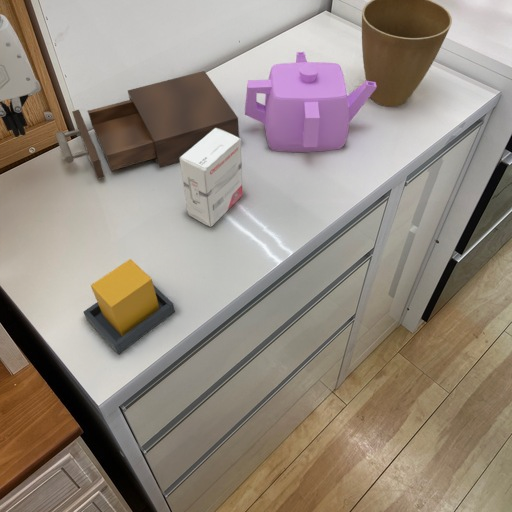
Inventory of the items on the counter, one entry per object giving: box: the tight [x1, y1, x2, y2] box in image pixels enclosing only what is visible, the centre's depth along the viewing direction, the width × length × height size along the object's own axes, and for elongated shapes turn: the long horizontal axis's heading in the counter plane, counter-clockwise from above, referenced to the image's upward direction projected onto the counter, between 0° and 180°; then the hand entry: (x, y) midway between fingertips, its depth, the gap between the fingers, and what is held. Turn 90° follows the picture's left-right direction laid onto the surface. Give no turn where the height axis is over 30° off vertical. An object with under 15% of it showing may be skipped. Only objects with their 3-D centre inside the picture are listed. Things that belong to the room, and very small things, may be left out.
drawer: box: [55, 99, 157, 180], centre depth 90 cm, size 17×14×4 cm
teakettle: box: [244, 51, 377, 153], centre depth 91 cm, size 17×17×12 cm
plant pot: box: [361, 0, 453, 108], centre depth 96 cm, size 15×15×16 cm
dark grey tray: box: [83, 284, 176, 355], centre depth 70 cm, size 9×7×2 cm
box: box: [90, 258, 160, 336], centre depth 68 cm, size 6×4×7 cm
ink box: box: [179, 128, 243, 228], centre depth 79 cm, size 9×5×12 cm, turn 145°
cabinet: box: [127, 70, 240, 168], centre depth 94 cm, size 15×16×6 cm
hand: (19, 130), depth 83 cm, fingers closed
